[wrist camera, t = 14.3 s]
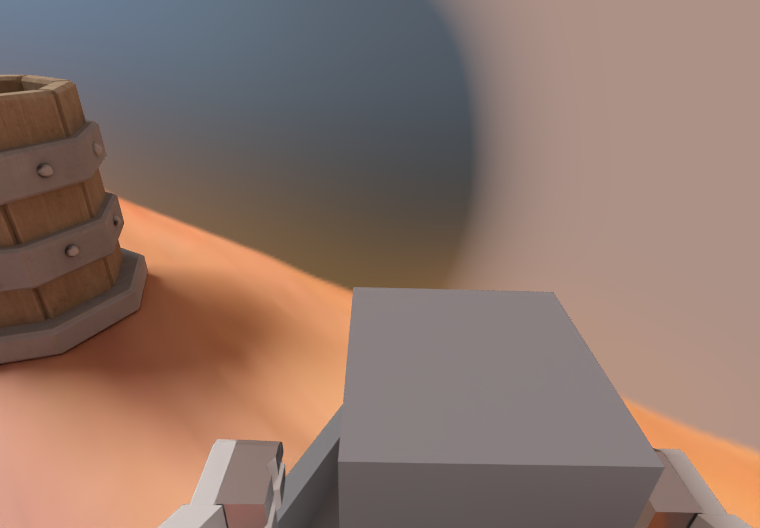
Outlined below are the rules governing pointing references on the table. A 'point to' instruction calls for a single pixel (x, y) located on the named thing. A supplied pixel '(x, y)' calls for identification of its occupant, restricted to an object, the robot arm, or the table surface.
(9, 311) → the tankard
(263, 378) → the table surface
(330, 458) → the walled box
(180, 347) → the table surface
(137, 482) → the table surface
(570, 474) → the plug
